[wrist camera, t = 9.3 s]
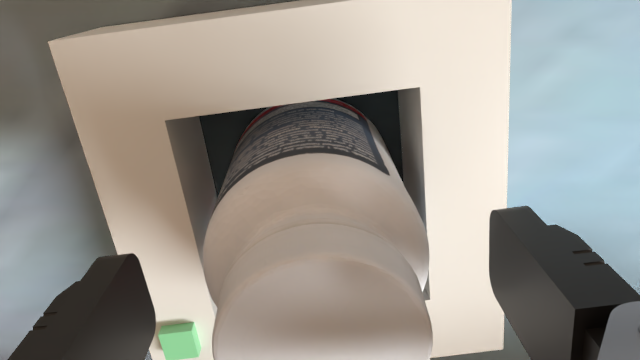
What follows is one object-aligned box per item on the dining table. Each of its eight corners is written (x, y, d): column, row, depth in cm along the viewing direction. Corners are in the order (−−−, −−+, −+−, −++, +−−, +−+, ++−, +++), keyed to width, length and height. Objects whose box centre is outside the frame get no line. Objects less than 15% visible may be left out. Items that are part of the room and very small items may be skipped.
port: (466, -23, 15) (518, -22, 11) (469, 285, 19) (508, 358, 15) (102, 27, 15) (39, 43, 11) (186, 320, 19) (158, 400, 16)
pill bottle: (202, 154, 17) (104, 329, 8) (326, 59, 16) (355, 153, 7) (298, 261, 18) (295, 493, 10) (417, 182, 17) (521, 369, 9)
